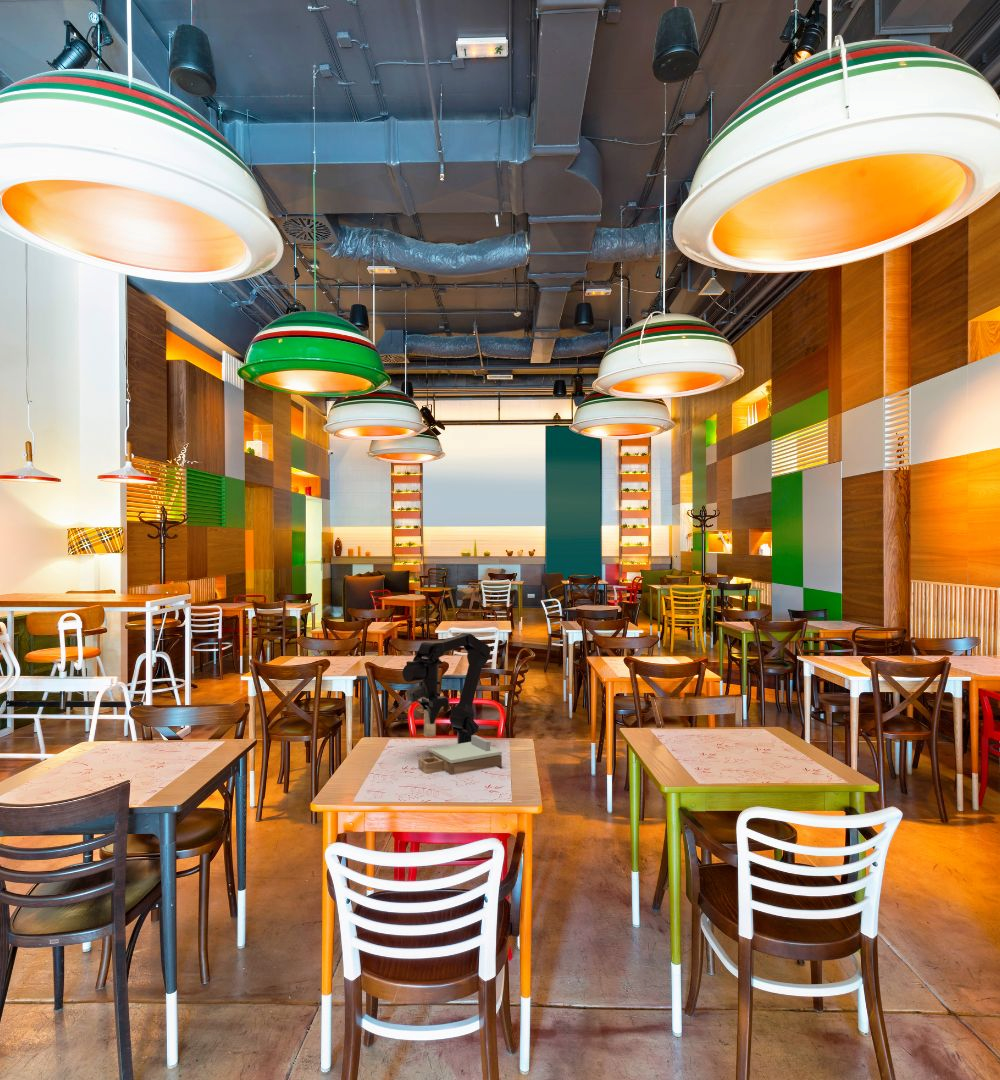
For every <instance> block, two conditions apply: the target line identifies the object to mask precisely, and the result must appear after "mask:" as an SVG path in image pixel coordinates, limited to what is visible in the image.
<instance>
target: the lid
mask: <svg viewBox="0 0 1000 1080" xmlns="http://www.w3.org/2000/svg"><path fill="white" fill-rule="evenodd" d="M428 751H429V752H431V753H433V754H435V755H437V756H438V757H440V758H442V759H444V760H446V761H447V762H449V763H456V762H462V761H468V760H473V759H479V758H485V757H490V756H496V755H502V753H503V752H502V751H501V750H499V749H497V748H495V747H493V746H491V741H490V740H488V739H486V738H484V737H481V736H478V735H476V734H473V735H472V736H471V742H466V743H460V744H458V743H455V744H454V743H453V744H448V745H442V746H436V747H429V749H428ZM429 752H428V753H429Z"/></svg>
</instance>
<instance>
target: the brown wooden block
mask: <svg viewBox="0 0 1000 1080" xmlns="http://www.w3.org/2000/svg"><path fill="white" fill-rule="evenodd" d="M423 736H424V737H426V738H431V737H436V720H435V721H434V724H430V718H429V710H428V709H425V710H424V712H423Z"/></svg>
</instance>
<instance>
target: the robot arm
mask: <svg viewBox="0 0 1000 1080" xmlns="http://www.w3.org/2000/svg"><path fill="white" fill-rule="evenodd" d="M462 647H463V649H464V650H465V652H467V654H466V659H467V663H468V668H467V671H466V675H465V677H464V678H465V679H464V683H463V686H462V690H461V693H460V698H459V702H458V703H457V704H456V705H452V707H451V710H450V711H451V712H450V714H449V723H450V724H451V727H452V731H454V732H457V744H460V743H466V742H471V736H472V735H476V733H478V732H479V724H478V723H477V722H476V721H475V720H474V717H475V712H474V708H473V705H474V704H473V703H474V700H475V696H476V692H477V688H478V683H479V680H480V675H481V672H482V669H483V667H484V665H486V663H487V662H488V660H489V658H490V655H491V652H492V651H491V648H490V646H489V644H487V643H485V642H484V641H482V640H480V639H479V638H477V637H476V636H475V635H474V634H472V633H467V632H466V633H465V632H463V633H461V634H458V635H455V636H451V637H448V638H446V639H442V640H437V641H436V640H435V641H434V640H431V641H429V640H428V641H423V642H421V643H420V645H419V648H418V650H417V652H416V654H415V656H414V657H413V659H412V661H406V665H404V667H403V670H402V678H403V680H404V681H405V682H407V683H409V682H410V683H411V682H414V681H415V682H416V681H418V685H417V686H413V687H412V688H411V689H408V690H406V691H405V695H406V698H407V700H408V701H409V702H412V703H417V704H418V705H420V707H421V708H422V712H423V713H424V710H425V709H428V710H429V718H430V724H434V721H435V722H436V719H437V717H438V715H439V712H440V711H441V709H442V707H448V706H450V699H449V698H448V697H446V696H443V695H441V692H439V685H441V681H440V680H439V665H443V664H444V663H443V661H442V660H441V659H440V658H441V657H443V656H444V655H445V654H446V653H447V652H449V651H453V650H456V649H459V648H462Z"/></svg>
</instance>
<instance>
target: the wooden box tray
mask: <svg viewBox="0 0 1000 1080" xmlns="http://www.w3.org/2000/svg"><path fill="white" fill-rule="evenodd" d="M502 760H503V756H502V755H496V756H490V757H485V758H479V759H473V760H468V761H462V762H456V763H449V762H447V761H446V760H444V759H442V758H440V757H438V756H437V755H435V754H433V753H431V752H428V757H425V758H419V759H418V760H417V761H418V762H417V763H418V764H417V765H418V768H417V769H418V770H419V771H421V772H423V773H425V774H427V775H428V774H432V773H437V772H443V771H444V772H445V773H448V774H449V775H451V776H452V775H457V774H461V773H462V774H463V773H467V772H473V771H479V770H485V769H489V768H495V767H497V768H499V769H502V767H503V766H502Z"/></svg>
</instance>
